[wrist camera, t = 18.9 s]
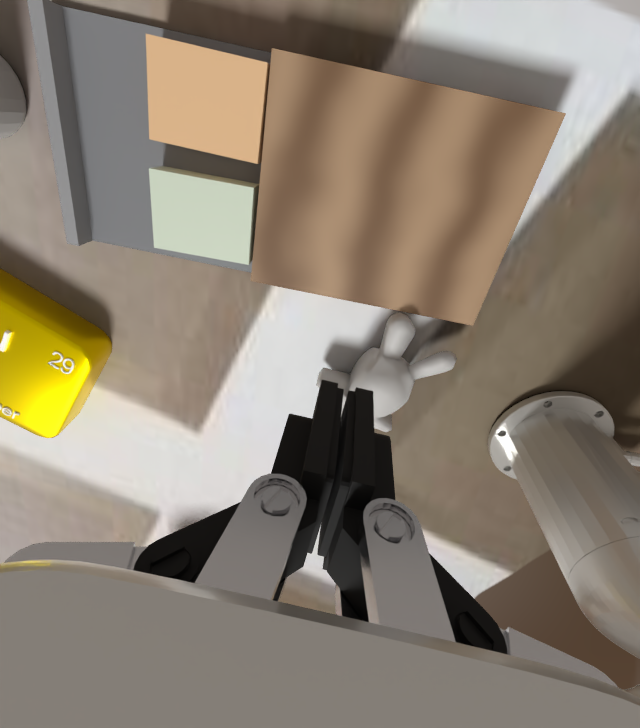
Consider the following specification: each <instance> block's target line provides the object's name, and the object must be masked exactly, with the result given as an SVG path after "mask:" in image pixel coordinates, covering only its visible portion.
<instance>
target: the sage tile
mask: <svg viewBox="0 0 640 728" xmlns="http://www.w3.org/2000/svg"><path fill="white" fill-rule="evenodd" d="M149 179H150V194H151V209H152V224H153V239H154V248H159V249H164V250H170V251H175V252H180V253H186V254H191V255H197V256H202V257H208V258H213V259H219V260H224V261H230V262H235V263H241V264H246V265H249V264H250V263H251V261H252V260H253V250H254V239H255V228H256V217H257V206H258V195H259V184H256V183H251V182H246V181H240V180H235V179H230V178H224V177H219V176H214V175H208V174H203V173H198V172H192V171H187V170H182V169H176V168H171V167H166V166H160V167H153V168H149Z"/></svg>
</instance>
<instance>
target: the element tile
mask: <svg viewBox="0 0 640 728" xmlns="http://www.w3.org/2000/svg"><path fill="white" fill-rule="evenodd" d="M111 352H112V343H111V341H110V338H109V337H108V336H107V335H106V333H105V332H104V331H102V330H101V329H100V328H98V327H97V326H95V325H93V324H92V323H90V322H88V321H87V320H85V319H83V318H82V317H80V316H78V315H77V314H75V313H74V312H72V311H70V310H69V309H67V308H65V307H64V306H62V305H60V304H59V303H57V302H55V301H54V300H52V299H50V298H49V297H47V296H45V295H44V294H42V293H40V292H39V291H37V290H35V289H34V288H32V287H30V286H29V285H27V284H25V283H24V282H22V281H20V280H19V279H17V278H15V277H14V276H12V275H10V274H9V273H7V272H5V271H4V270H2V269H0V417H2V418H4V419H6V420H8V421H10V422H12V423H14V424H16V425H18V426H20V427H22V428H24V429H26V430H28V431H30V432H32V433H34V434H36V435H38V436H41V437H45V438H53V437H55V436H57V435H59V433H60V432H61V431H62V430H63V429H64V428H65V427H66V426H67V425H68V424H69V423H70V422H71V421H72V420H73V419H74V418H75V417H76V416H77V415H78V414H79V413H80V411H81V409H82V407H83V405H84V403H85V402H86V400H87V398H88V396H89V394H90V392H91V390H92V388H93V386H94V384H95V383H96V381H97V379H98V377H99V375H100V373H101V371H102V369H103V367H104V365H105V364H106V362H107V360H108V358H109V356H110V354H111Z"/></svg>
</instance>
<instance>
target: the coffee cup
mask: <svg viewBox="0 0 640 728" xmlns="http://www.w3.org/2000/svg"><path fill="white" fill-rule="evenodd" d="M25 116H26V98H25V95H24V91H23V87H22V85H21V83H20V81H19V79H18V77H17V75H16V74H15V72H14V71H13V69H12V68H11V66H10V65H9V64H8V63H7V62H6V61H5V60H4V59H3V58H2V57H1V56H0V139H2V138H6V137H10V136H12V135H13V134H14V133H16V132H17V131H18V129H19V128H20V127H21V125H22V124H23V122H24V120H25Z"/></svg>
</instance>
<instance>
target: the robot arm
mask: <svg viewBox="0 0 640 728" xmlns="http://www.w3.org/2000/svg"><path fill="white" fill-rule="evenodd" d="M343 392H344V389H341V388H338V383H335V382H331V381H326V380H322V381H321V385H320V389H319V393H318V397H317V402H316V406H315V410H314V415H313V419H311V418H307V417H302V416H298V415H293V414H289V416H288V419H287V423H286V426H285V429H284V433H283V436H282V439H281V442H280V446H279V449H278V452H277V456H276V459H275V462H274V466H273V469H272V472H271V474H268V475H264V476H261V477H260V478H258V479H256V480H255V481H254V482H253V483H252V484H251V486H250V487H249V489H248V490H247V492H246V494H245V496H244V497H243V499H242V501H241V502H240V503H238V504H235V505H233V506H231V507H229V508H227V509H224V510H222V511H220V512H218V513H216V514H214V515H211V516H209V517H207V518H205V519H203V520H200V521H198V522H196V523H194V524H192V525H189V526H187V527H185V528H183V529H181V530H178V531H176V532H174V533H172V534H170V535H167V536H165V537H163V538H161V539H159V540H157V541H155V542H154V543H152V544H150V545H149V546H148V547H135V542H44V543H38V544H33V545H30V546H28V547H26V548H23V549H21V550H19V551H18V552H16V553H15V554H13V555H12V556H11V557H9V558H8V559H7V560H6V561H5V562H4V563H1V564H0V728H640V685H637V686H635V687H634V688H630V689H626V690H622V689H620V688H618V687H617V686H616V684H615V683H614V682H613V681H612V680H611V679H609V677H607V676H606V675H605V674H604V673H603V672H601V671H599V670H598V669H596V668H595V667H593V666H591V665H589V664H587V663H584V662H583V661H581V660H578V659H576V658H574V657H572V656H570V655H568V654H565V653H563V652H561V651H559V650H557V649H555V648H553V647H550V646H548V645H546V644H544V643H541V642H540V641H538V640H535V639H533V638H531V637H529V636H527V635H525V634H522V633H520V632H518V631H516V630H514V629H512V628H510V627H508V628H507V629H506V631H505V630H503V629H500V628H499V627H498V625H497V623H496V622H495V621H494V620H493V618H492V617H491V616H490V615H489V614H488V613H487V612H486V611H485V610H484V609H483V608H482V607H481V606H480V604H478V602H476V600H475V599H474V598H473V597H472V596H471V595H470V594H469V593H468V592H467V591H466V590H465V589H464V588H463V587H462V586H461V585H460V584H459V583H458V582H457V581H456V580H455V579H454V578H453V577H452V576H451V575H450V574H449V573H448V572H447V571H446V570H445V569H444V568H443V567H442V566H441V565H440V564H439V563H438V562H437V561H436V560H435V559H434V558H433V557H432V556H431V555H430V554H429V552H428V548H427V545H426V542H425V539H424V535H423V532H422V529H421V525H420V523H419V521H418V519H417V517H416V516H415V514H414V513H413V512H412V511H411V510H410V509H409V508H408V507H406V506H405V505H404V504H402V503H400V502H398V501H396V500H395V490H394V477H393V465H392V452H391V441H390V437H389V436H386V435H381V434H377V433H374V400H373V391H371V390H366V389H362V388H357V387H356V389H355V391H350V390H349V391H348V394H347V397H346V401H345V404H344V408H343V411H342V402H343ZM341 412H342V415H341ZM613 436H614V423H613V419H612V417H611V415H610V414H609V412H608V411H607V410H606V409H605V408H604V407H603V405H602V404H601V403H599V402H598V401H597V400H595V399H594V398H592V397H590V396H587V395H585V394H582V393H576V392H571V391H556V392H547V393H543V394H539V395H535V396H532V397H530V398H527V399H525V400H523V401H521V402H519V403H517V404H516V405H514V406H512V407H511V408H510V409H508V410H507V411H506V412H504V413H503V414H502V415H501V417H500V418H499V419H498V420H497V421H496V422H495V424H494V426H493V427H492V429H491V432H490V434H489V437H488V449H489V453H490V456H491V458H492V461H493V462H494V464H495V465H496V467H497V468H498V469H499V470H500V471H501V472H502V473H504V474H506V475H508V476H509V477H511V478H514V479H517V480H518V482H519V484H520V486H521V488H522V490H523V492H524V494H525V496H526V498H527V500H528V502H529V504H530V506H531V509H532V511H533V513H534V515H535V517H536V519H537V521H538V523H539V525H540V527H541V529H542V531H543V533H544V535H545V537H546V540H547V542H548V544H549V546H550V548H551V550H552V552H553V554H554V556H555V558H556V560H557V562H558V564H559V566H560V568H561V571H562V573H563V575H564V577H565V579H566V581H567V583H568V585H569V587H570V589H571V591H572V593H573V595H574V597H575V599H576V601H577V603H578V605H579V607H580V608H581V610H582V612H583V613H584V614H585V616H586V617H587V618H588V620H589V621H590V622H591V623H592V624H593V625H594V626H595V627H596V628H597V630H599V631H600V632H601V633H602V634H603V635H604V636H606V637H607V638H608V639H610V640H611V641H612V642H614V643H615V644H617V645H618V646H620V647H621V648H623V649H624V650H626V651H628V652H629V653H631V654H632V655H634V656H636V657H638V658H639V659H640V472H639V471H637V470H636V469H635V468H634V467H633V466H640V454H639V453H634V452H629V451H624V450H623V449H622V448H621V447H620V446H619V445H618V443H617V442H616V441H615V440H614V439H613ZM632 465H633V466H632ZM320 525H321V529H320V537H319V545H318V555H320V556H324V563H323V569H324V570H327V572H328V574H329V575H330V576H331V578H332V579H333V580H334V582H335V583H336V586H335V606H336V615H335V614H330V613H326V612H321V611H317V610H313V609H308V608H304V607H299V606H295V605H291V604H286V603H282V602H279V600H280V597H281V594H282V592H283V589H284V586H285V583H286V579H287V577H288V576H289V575H291V574H292V573H294V572H295V571H297V570H298V569H300V568H301V567H303V566H304V562H305V559H306V555H307V553H311V554H312V551H313V548H314V545H315V541H316V538H317V535H318V532H319V528H320Z"/></svg>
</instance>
